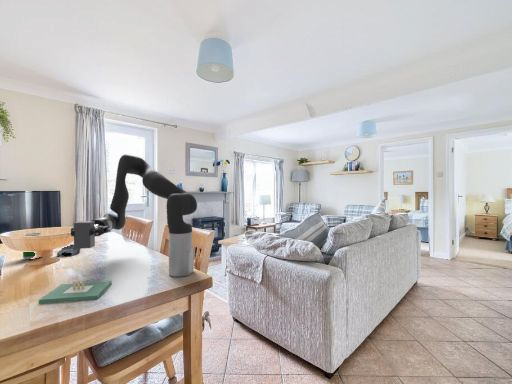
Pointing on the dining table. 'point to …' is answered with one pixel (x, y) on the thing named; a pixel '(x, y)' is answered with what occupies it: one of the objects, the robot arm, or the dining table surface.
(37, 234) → the soda can
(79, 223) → the block
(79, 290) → the pin board
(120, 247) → the dining table surface
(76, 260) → the dining table surface
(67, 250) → the electronic device
